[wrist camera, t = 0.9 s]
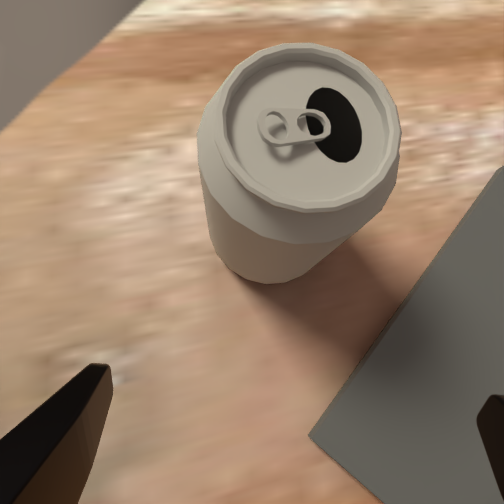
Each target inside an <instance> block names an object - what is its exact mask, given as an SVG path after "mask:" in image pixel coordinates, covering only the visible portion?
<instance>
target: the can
mask: <svg viewBox="0 0 504 504" xmlns="http://www.w3.org/2000/svg"><path fill="white" fill-rule="evenodd" d="M401 134H402V132H401V126H400V121H399V116H398V111H397V106H396V105H395V103H394V101H393V99H392V97H391V96H390V94H389V92H388V90H387V88H386V87H385V85H384V83H383V82H382V81H381V80H380V79H379V78H378V77H377V76H376V75H375V74H374V73H373V72H372V71H371V70H370V69H369V68H368V67H367V66H366V65H365V64H364V63H362V62H360V61H358V60H356V59H355V58H353V57H351V56H349V55H347V54H346V53H344V52H342V51H340V50H338V49H334V48H330V47H326V46H322V45H318V44H314V43H283V44H280V45H277V46H273V47H270V48H267V49H263V50H260V51H257V52H256V53H254V54H253V55H251V56H250V57H249V58H247V59H246V60H244V61H243V62H241V63H240V64H238V65H237V66H236V67H235V68H234V69H233V71H232V72H231V73H230V75H229V76H228V77H227V79H226V80H225V81H224V83H223V84H222V85H221V87H220V88H219V89H218V91H217V92H216V93H215V95H214V96H213V97H212V99H211V100H210V101H209V103H208V104H207V105H206V107H205V109H204V113H203V116H202V119H201V122H200V126H199V129H198V132H197V148H198V165H199V172H200V178H201V184H202V190H203V197H204V203H205V209H206V216H207V222H208V228H209V234H210V238H211V241H212V243H213V246H214V248H215V251H216V253H217V255H218V256H219V257H220V258H221V260H222V261H223V262H224V263H225V264H226V265H227V267H228V268H229V269H230V270H232V271H234V272H235V273H237V274H238V275H240V276H242V277H243V278H245V279H247V280H251V281H255V282H259V283H263V284H273V283H285V282H288V281H290V280H292V279H295V278H297V277H300V276H302V275H304V274H305V273H306V272H307V271H309V270H310V269H311V268H312V267H314V266H315V265H316V264H317V263H318V262H320V261H321V260H322V259H323V258H325V257H326V256H327V255H328V254H330V253H331V252H332V251H333V250H335V249H336V248H337V247H338V246H340V245H341V244H342V243H343V242H344V241H346V240H347V239H348V238H349V237H351V236H352V235H353V234H354V233H356V232H357V231H358V230H359V229H360V228H362V227H363V226H364V225H365V224H366V223H367V222H368V221H370V220H371V219H372V218H373V217H374V216H375V215H376V214H378V213H379V212H380V211H381V210H382V208H383V206H384V205H385V203H386V201H387V199H388V197H389V195H390V194H391V192H392V190H393V188H394V186H395V184H396V178H397V171H398V164H399V158H400V155H399V148H400V141H401Z"/></svg>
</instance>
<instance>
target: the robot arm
mask: <svg viewBox="0 0 504 504" xmlns="http://www.w3.org/2000/svg"><path fill="white" fill-rule="evenodd" d="M112 396H113V383H112V375H111V368H110V366H109V365H108V364H100V363H91V364H89V365H88V366H86V367H85V368H84V369H83V370H82V371H81V372H79V373H78V374H77V375H76V376H75V377H73V378H72V379H71V380H70V381H69V382H68V383H66V384H65V385H64V386H63V387H62V388H61V389H59V390H58V391H57V392H56V393H55V394H53V395H52V396H51V397H50V398H49V399H48V400H46V401H45V402H44V403H43V404H42V405H40V406H39V407H38V408H37V409H36V410H35V411H33V412H32V413H31V414H30V415H29V416H27V417H26V418H25V419H24V420H23V421H22V422H20V423H19V424H18V425H17V426H16V427H15V428H13V429H12V430H11V431H10V432H9V433H7V434H6V435H5V436H4V437H3V438H2V439H0V504H78V502H79V499H80V497H81V494H82V492H83V489H84V487H85V484H86V482H87V479H88V476H89V474H90V471H91V468H92V465H93V462H94V459H95V456H96V452H97V449H98V445H99V442H100V438H101V435H102V431H103V428H104V424H105V421H106V417H107V414H108V410H109V407H110V403H111V400H112ZM476 423H477V427H478V430H479V433H480V436H481V439H482V442H483V445H484V448H485V451H486V454H487V457H488V460H489V462H490V465H491V468H492V471H493V474H494V477H495V480H496V483H497V486H498V488H499V491H500V494H501V496H502V498H503V501H504V395H499V394H492V395H490V396H489V397H488V399H487V400H486V402H485V403H484V405H483V406H482V408H481V410H480V411H479V413H478V414H477V418H476Z"/></svg>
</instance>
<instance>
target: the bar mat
mask: <svg viewBox="0 0 504 504" xmlns="http://www.w3.org/2000/svg"><path fill="white" fill-rule="evenodd" d="M492 394H499V395H504V166H502V167H501V168H499V169H497V171H496V172H495V174H494V175H493V176H492V178H491V179H490V181H489V182H488V183H487V185H486V186H485V188H484V189H483V190H482V192H481V193H480V195H479V196H478V197H477V199H476V200H475V202H474V203H473V204H472V206H471V207H470V209H469V210H468V211H467V213H466V214H465V216H464V217H463V218H462V220H461V221H460V223H459V224H458V225H457V227H456V228H455V230H454V231H453V232H452V234H451V235H450V237H449V238H448V239H447V241H446V242H445V244H444V245H443V247H442V248H441V249H440V251H439V252H438V254H437V255H436V256H435V258H434V259H433V261H432V262H431V263H430V265H429V266H428V268H427V269H426V270H425V272H424V273H423V275H422V276H421V277H420V279H419V280H418V282H417V283H416V284H415V286H414V287H413V289H412V290H411V291H410V293H409V294H408V296H407V297H406V298H405V300H404V301H403V303H402V304H401V305H400V307H399V308H398V310H397V311H396V312H395V314H394V315H393V317H392V318H391V319H390V321H389V322H388V324H387V325H386V326H385V328H384V329H383V331H382V332H381V333H380V335H379V336H378V338H377V339H376V340H375V342H374V343H373V345H372V346H371V347H370V349H369V350H368V352H367V353H366V355H365V356H364V357H363V359H362V360H361V362H360V363H359V364H358V366H357V367H356V369H355V370H354V371H353V373H352V374H351V376H350V377H349V378H348V380H347V381H346V383H345V384H344V385H343V387H342V388H341V390H340V391H339V392H338V394H337V395H336V397H335V398H334V399H333V401H332V402H331V404H330V405H329V406H328V408H327V409H326V411H325V412H324V413H323V415H322V416H321V418H320V419H319V420H318V422H317V423H316V425H315V426H314V427H313V429H312V430H311V432H310V433H309V434H308V436H309V437H310V438H311V439H312V440H313V441H314V442H315V443H316V444H317V445H318V446H319V447H321V448H322V449H323V450H324V451H325V452H326V453H327V454H329V455H330V456H331V457H332V458H333V459H334V460H335V461H337V462H338V463H339V464H340V465H341V466H342V467H343V468H345V469H346V470H347V471H348V472H349V473H350V474H351V475H353V476H354V477H355V478H356V479H357V480H358V481H359V482H361V483H362V484H363V485H364V486H365V487H366V488H367V489H368V490H370V491H371V492H372V493H373V494H374V495H375V496H376V497H378V498H379V499H380V500H381V501H382V502H383V503H384V504H504V501H503V498H502V496H501V494H500V491H499V488H498V486H497V483H496V480H495V477H494V474H493V471H492V468H491V465H490V462H489V460H488V457H487V454H486V451H485V448H484V445H483V442H482V439H481V436H480V433H479V430H478V427H477V423H476V418H477V414H478V413H479V411H480V410H481V408H482V406H483V405H484V403H485V402H486V400H487V399H488V397H489V396H490V395H492Z"/></svg>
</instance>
